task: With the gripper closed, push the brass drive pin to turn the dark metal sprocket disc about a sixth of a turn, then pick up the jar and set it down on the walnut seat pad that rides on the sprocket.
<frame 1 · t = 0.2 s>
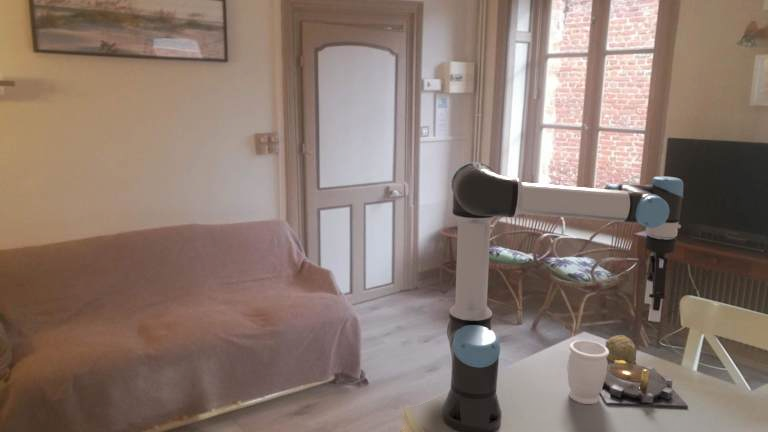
hand: (651, 311, 160), 26 cm above the table, fingers open, 13 cm apart
base plate: (631, 386, 173), on the table
jar: (583, 397, 167), on the table
decorative object: (619, 360, 191), on the table
sprocket: (633, 370, 172), point 5 cm above the table, hinge at 0.0°
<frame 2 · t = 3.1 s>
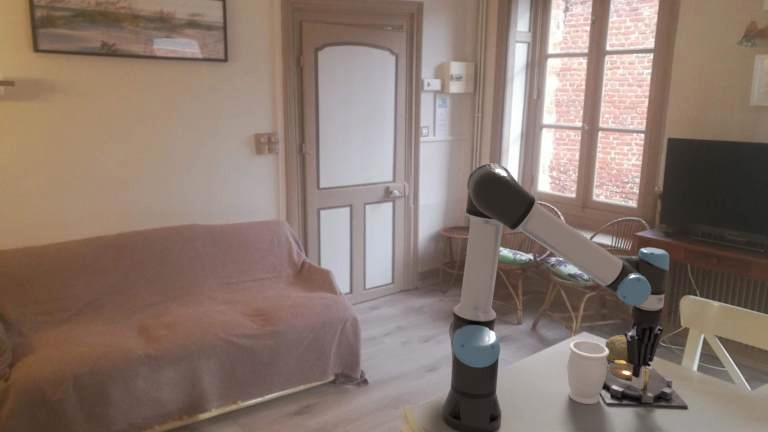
hand: (637, 386, 163), 5 cm above the table, fingers closed
sprocket: (633, 370, 172), point 5 cm above the table, hinge at 0.1°, touching gripper
everything else where it was.
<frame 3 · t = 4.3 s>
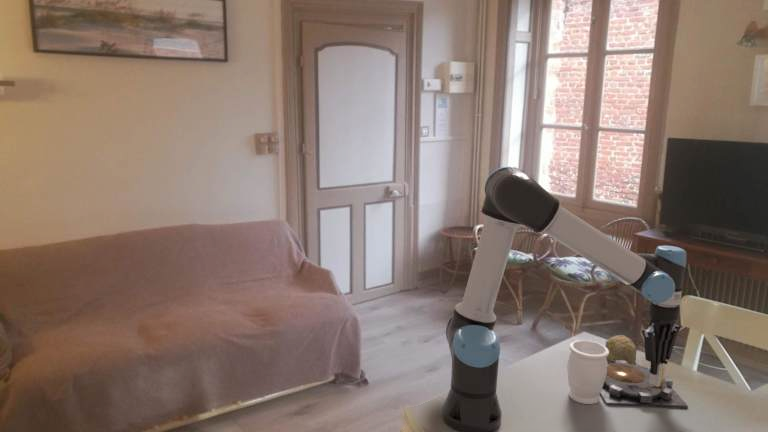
hand: (654, 384, 165), 5 cm above the table, fingers closed
sprocket: (633, 370, 172), point 5 cm above the table, hinge at 43.4°, touching gripper
everything else where it was.
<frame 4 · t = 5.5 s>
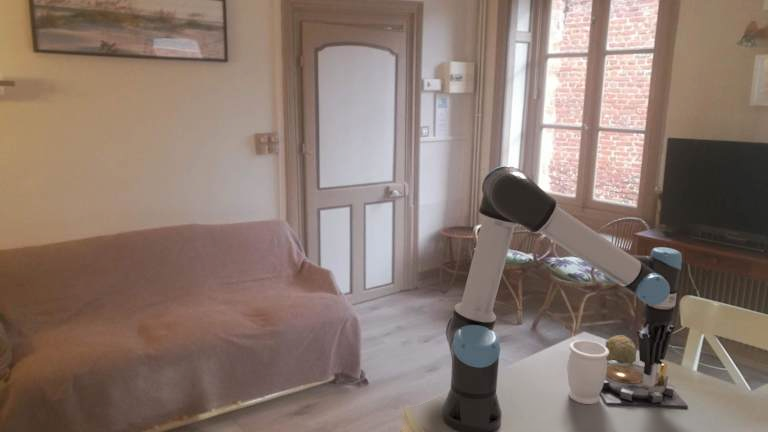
hand: (648, 384, 166), 4 cm above the table, fingers closed
sprocket: (633, 370, 172), point 5 cm above the table, hinge at 60.4°
everything else where it was.
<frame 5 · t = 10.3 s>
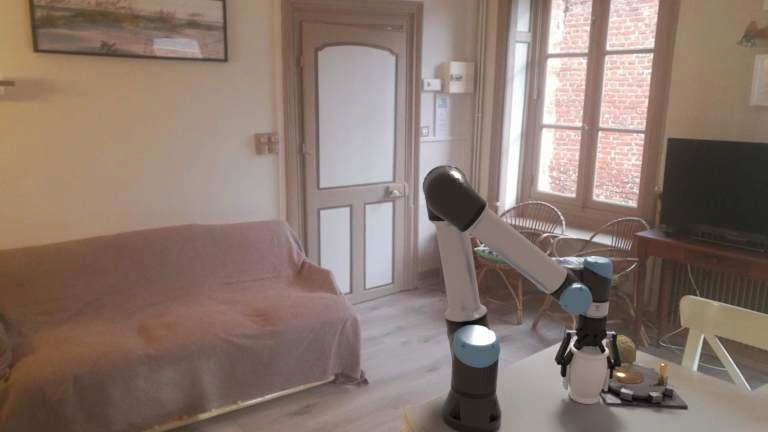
hand: (584, 387, 166), 3 cm above the table, fingers closed on jar, 10 cm apart
jar: (583, 397, 167), on the table, touching gripper
everything else where it was.
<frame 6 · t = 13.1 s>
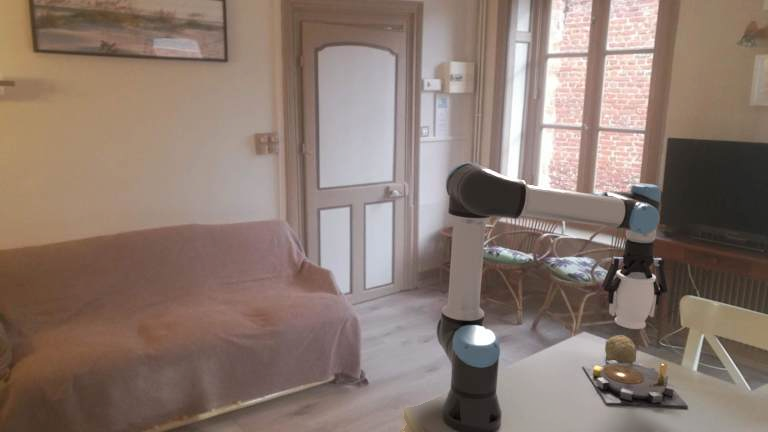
hand: (631, 314, 170), 22 cm above the table, fingers closed on jar, 10 cm apart
jar: (629, 324, 170), point 19 cm above the table, touching gripper
everything else where it was.
when the fingers open (7 cm above the table, at t = 16.3 s): jar stays where it is, resting on sprocket.
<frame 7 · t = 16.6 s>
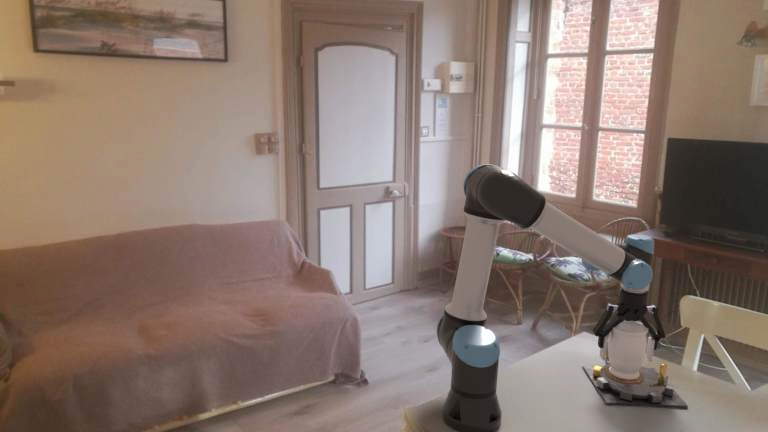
hand: (625, 358, 173), 8 cm above the table, fingers open, 13 cm apart
jar: (623, 374, 174), point 3 cm above the table, touching sprocket
sprocket: (633, 370, 172), point 5 cm above the table, hinge at 60.4°, touching jar
everything else where it was.
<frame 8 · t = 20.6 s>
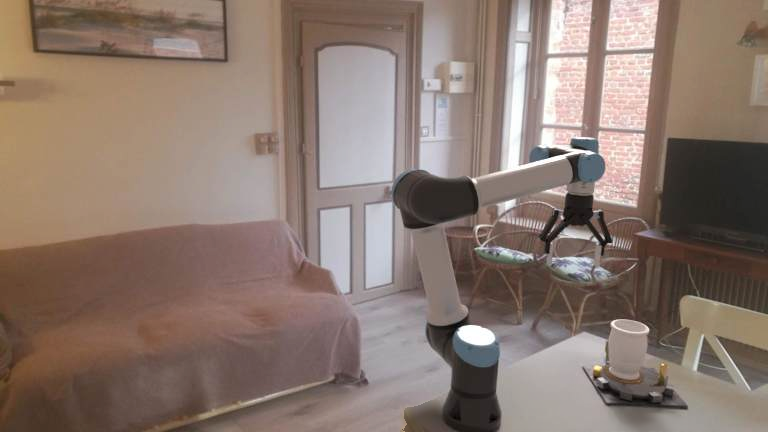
hand: (572, 265, 171), 35 cm above the table, fingers open, 13 cm apart
nothing on the table moved.
at the end: sprocket at +60° (first picture: +0°); jar inside the target area on the sprocket (0.3 cm from its centre), point 3.2 cm above the sprocket's base; jar tilted 0° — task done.
